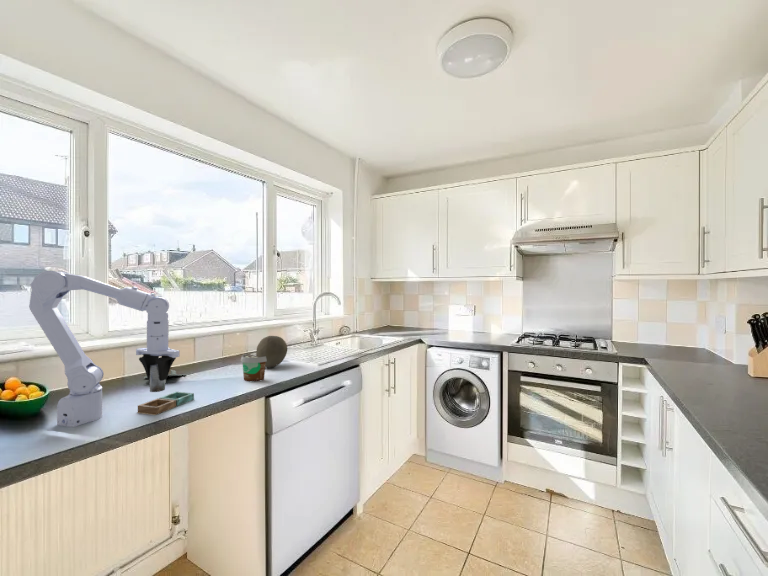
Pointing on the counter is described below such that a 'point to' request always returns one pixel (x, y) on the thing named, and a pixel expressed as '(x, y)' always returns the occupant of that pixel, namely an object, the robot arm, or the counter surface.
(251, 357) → the food container
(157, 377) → the steel pin
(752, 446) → the counter surface
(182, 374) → the metal bracket
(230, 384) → the counter surface
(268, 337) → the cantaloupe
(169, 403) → the board
